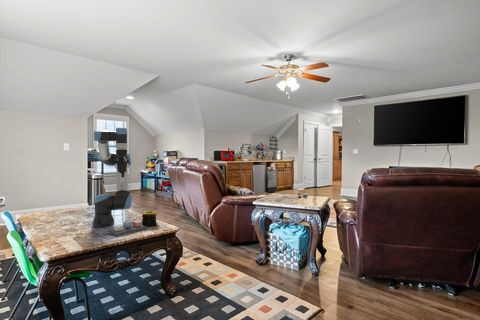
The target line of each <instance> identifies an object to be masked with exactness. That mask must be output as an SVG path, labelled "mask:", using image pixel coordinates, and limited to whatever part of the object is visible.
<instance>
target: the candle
mask: <svg viewBox="0 0 480 320" xmlns="http://www.w3.org/2000/svg"><path fill="white" fill-rule="evenodd" d="M141 217H142V220H141V221H142V225H144V226H147V228H151V227H153V228H154V227H156V226H157V210H148V211H147V210H144V211H142V213H141Z"/></svg>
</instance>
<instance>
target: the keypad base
mask: <svg viewBox="0 0 480 320" xmlns="http://www.w3.org/2000/svg"><path fill="white" fill-rule="evenodd" d="M147 229H148V227H147V226H144V225H141V226H138V227H135V226H130V228H129V229H127V227H126V226H123V230H120V231H115V230H114V228H112V229H108V233H109V234H111V235H112V236H116V237H120V236H124V235H128V234H133V233H136V232H140V231H145V230H147Z"/></svg>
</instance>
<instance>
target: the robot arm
mask: <svg viewBox="0 0 480 320" xmlns="http://www.w3.org/2000/svg"><path fill="white" fill-rule="evenodd" d="M93 141H95V142H97V146H98V155H97V157H98V159H99V161H100V162H101V163H102V164H104V165H106V166H109V167H113V166H114V168H115V169H116V191H115V192H114V194H112V193H103V194H102V193H101V194H98V195H96V196H95V197H94V216H93V220H92V222H91V223H92V225H91V226H92V227H94V228H105V227H111V226H112V225H113V226H114V225H115V219H114V217H113V214H112V213H113V212H112V211H122V210H129V209H131V207H132V202H133V194H132V193H131V191H130V190H129V174H128V173H129V172H128V171H129V170H128V169H129V168H130V166H132V160H131V154H130V153H129V152H128V129H127V128H126V127H116V128H115V130H114V131H113V130H94V131H93ZM109 142H115V151H114V152H113V151H112V152H111V151H110V143H109Z"/></svg>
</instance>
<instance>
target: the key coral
mask: <svg viewBox="0 0 480 320" xmlns="http://www.w3.org/2000/svg"><path fill="white" fill-rule="evenodd" d="M132 222H133V226H135V227H138V226H141V225H142V220H135V221H132Z"/></svg>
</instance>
